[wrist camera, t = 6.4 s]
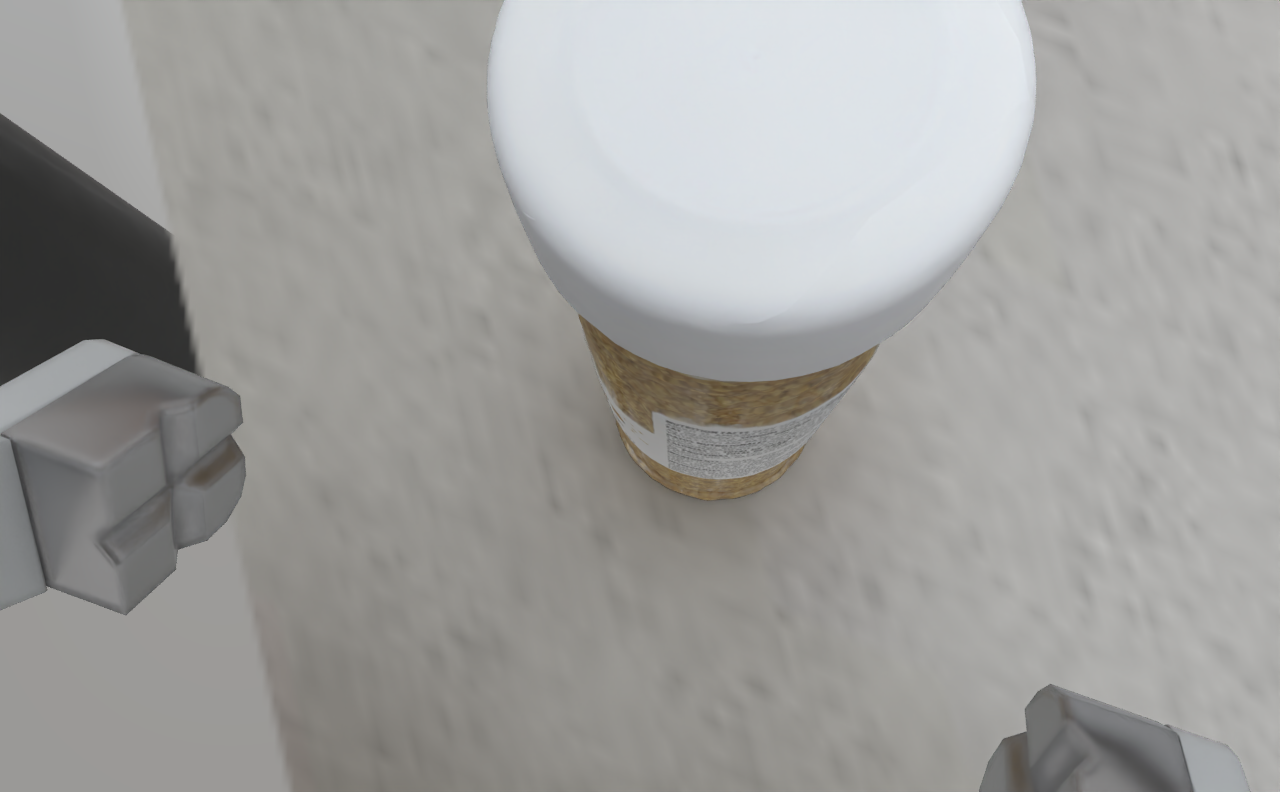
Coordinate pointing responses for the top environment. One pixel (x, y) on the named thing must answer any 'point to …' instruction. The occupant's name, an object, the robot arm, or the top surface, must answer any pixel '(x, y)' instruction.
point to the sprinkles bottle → (752, 197)
